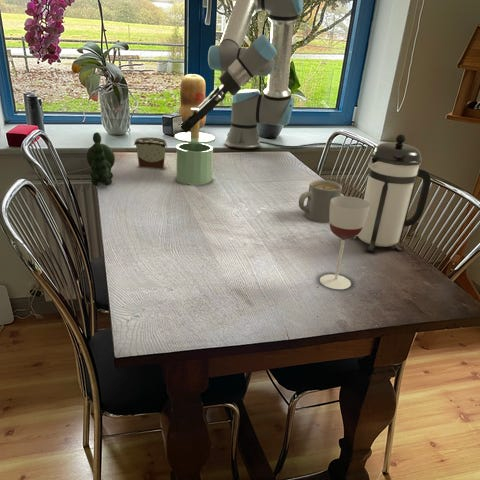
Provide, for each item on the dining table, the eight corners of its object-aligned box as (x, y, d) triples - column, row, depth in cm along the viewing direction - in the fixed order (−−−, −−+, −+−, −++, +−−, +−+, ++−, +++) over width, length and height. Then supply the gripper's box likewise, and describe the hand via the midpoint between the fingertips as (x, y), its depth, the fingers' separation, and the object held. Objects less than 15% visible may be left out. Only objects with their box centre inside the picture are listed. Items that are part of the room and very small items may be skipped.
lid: (201, 134, 180) (202, 104, 175) (222, 143, 171) (223, 111, 166) (167, 137, 173) (167, 106, 168) (187, 146, 164) (187, 114, 159)
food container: (170, 165, 193) (170, 138, 188) (167, 169, 188) (166, 142, 183) (139, 162, 194) (138, 135, 188) (135, 166, 189) (133, 139, 183)
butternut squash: (188, 135, 235) (189, 77, 221) (172, 129, 243) (171, 73, 229) (211, 132, 243) (213, 76, 229) (195, 127, 251) (195, 72, 237)
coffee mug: (330, 210, 162) (335, 179, 157) (341, 222, 154) (347, 190, 149) (291, 210, 160) (295, 179, 154) (300, 222, 152) (304, 190, 146)
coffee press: (397, 261, 133) (428, 146, 116) (342, 245, 139) (363, 134, 123) (415, 240, 145) (445, 134, 129) (363, 226, 152) (385, 123, 136)
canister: (200, 172, 187) (201, 141, 181) (218, 182, 179) (219, 150, 173) (170, 177, 181) (170, 144, 175) (187, 187, 173) (187, 153, 166)
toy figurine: (116, 196, 166) (115, 167, 185) (112, 139, 154) (111, 114, 173) (87, 196, 164) (89, 167, 183) (80, 138, 152) (83, 113, 171)
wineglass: (314, 273, 124) (327, 195, 113) (348, 274, 125) (364, 196, 114) (321, 289, 117) (335, 208, 106) (357, 290, 118) (374, 209, 107)
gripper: (243, 91, 157) (190, 143, 165) (241, 84, 171) (192, 131, 178) (227, 72, 154) (174, 125, 162) (226, 66, 167) (177, 115, 175)
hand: (183, 128), depth 170 cm, fingers closed on lid, 3 cm apart
